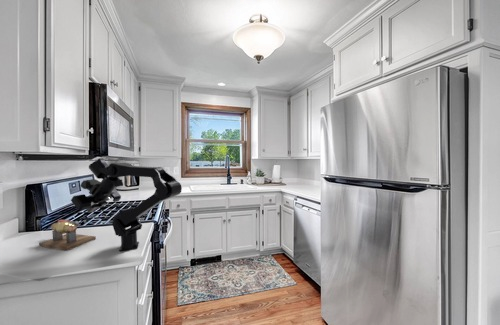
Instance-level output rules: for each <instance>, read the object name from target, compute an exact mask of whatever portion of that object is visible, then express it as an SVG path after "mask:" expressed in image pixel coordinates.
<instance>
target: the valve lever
mask: <svg viewBox="0 0 500 325" xmlns="http://www.w3.org/2000/svg"><path fill="white" fill-rule="evenodd" d="M61 222H69V223H70V224H73V223H74V225H76V226H77V227H78V226H80V222H79V221H78V220H75V221H73V220H69V219H59V220H57V223H61Z"/></svg>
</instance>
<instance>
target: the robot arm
mask: <svg viewBox="0 0 500 325" xmlns="http://www.w3.org/2000/svg"><path fill="white" fill-rule="evenodd" d="M88 169H89V170H90V171H91V172H92V174H93V175H94V176H95V177H96V178H97V179H96V178H92V179H86V180H82V182H81V183H80V187H81V188H82V189H83V190H87V191H88V194H89V196H87V195H85V194H84V193H82V194H76V195H73V197H72V198H71V200H70V201H71V203H72V204H73V206H74V207H75V208H76V209H77V210H78V211H79V212H80V211H85V210H86V211H87V213H88V214H89V213H92V212H94V211H96V210H98V209H100V208H102V207H105V206H107V205H109V203H108V202H107V201H109V200H112V202H113V203H116V202H119V201H121V198H122V195H121V194H120V193H119V192H118V190H117V189H116V188H117V187H118V188H119V187H124V182H123V179H121V178H122V177H130V176H131V177H142V178H151V179H152V182H153V186H154V187H155V191H154V193H153V194H152V195H150V196H149V197H148V198H146V199H145V200H143V201H142V202H141V203H139V204H137V205H135V207H129V208H126V209H123V210H120V212H118V213H117V214H114V216H113V219H112V223H111V224H112V227H113V231H114V234H115V236H118V237H120V244H121V245H120V247H119V249H118V251H119V252H122V251H128V250H136V249H138V248H139V244H140V242H139V241H138V231H139V230H142V227H143V224H142V223H141V221H140V218H141V217H142V216H143V215H144V214H146V213H148V212H149V211H150V210H152V209H154V208H155V207H156V206H158V205H160V204H161V203H162V202H164V201H166V200H169V199H171V198H174V197H176V196H179V195H181V193H182V190H183V189H182V188H183V187H182V184H181V183H180V182H179V181H178V180H177V179H176V178H175V177H174V175H171V174H170V173H169V172H167V170H166V169H165V168H164V167H162V166H156V167H155V166H142V165H141V166H140V165H139V166H137V165H133V164H132V163H128V162H113V163H111V162H110V164H108V163H107V162H106V160H105V159H104V158H98V159H97V160H95V161H93V162H91V163H89V165H88ZM120 177H121V178H120ZM98 179H99V180H100V179H101V180H100V181H99V180H98ZM163 181H164V182H163Z"/></svg>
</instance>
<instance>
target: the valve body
mask: <svg viewBox="0 0 500 325" xmlns="http://www.w3.org/2000/svg"><path fill="white" fill-rule="evenodd" d="M50 229H51V230H52V231H51V232H52V234H51V235H52V239H53V241H55V242H56V241H59V240H62V239H63V235H65V234H66V241H67V243H69V244H70V243H72V242H75V241H76V234H77V229H78V226H76V225H74V223H73V224H70V223H69V222H61V223H58V222H55V223H52V224H51V225H50Z"/></svg>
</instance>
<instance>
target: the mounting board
mask: <svg viewBox="0 0 500 325" xmlns="http://www.w3.org/2000/svg"><path fill="white" fill-rule="evenodd" d="M62 235H63V239H62V240H59V241H56V242H55V241H53V238H51V239H47V240H44V241H42V242H39V243H38V244H39V245H38V246H39V247H42V248H49V249H56V250H62V251H69V250H70V251H71V250H72V249H74V248H77V247H79V246H82V245H85V244H87V243H90V242H92V241H95V240H96V236H95V235H87V234H78V233H76V241H75V242H72V243H70V244H69V243H67V241H66V233H65V234H62Z"/></svg>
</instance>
